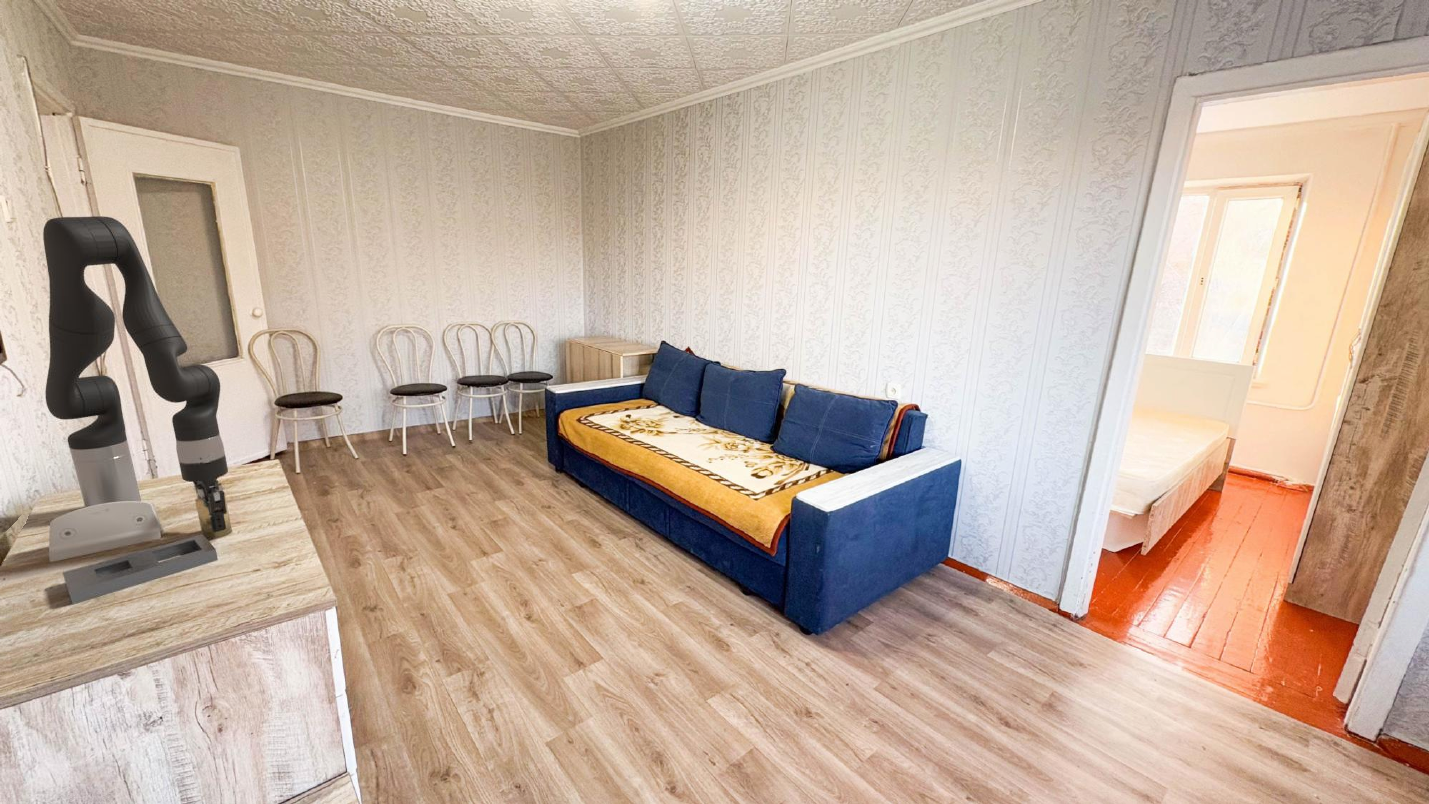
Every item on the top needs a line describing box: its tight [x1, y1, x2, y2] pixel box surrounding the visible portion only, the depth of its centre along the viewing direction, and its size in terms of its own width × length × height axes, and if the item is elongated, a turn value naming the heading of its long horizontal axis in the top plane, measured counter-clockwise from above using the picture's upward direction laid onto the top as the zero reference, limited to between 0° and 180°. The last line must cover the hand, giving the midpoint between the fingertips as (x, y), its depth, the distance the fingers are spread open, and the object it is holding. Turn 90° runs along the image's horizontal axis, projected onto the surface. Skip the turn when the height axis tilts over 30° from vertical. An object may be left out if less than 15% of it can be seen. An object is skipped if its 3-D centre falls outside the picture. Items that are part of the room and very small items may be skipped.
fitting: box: [194, 494, 233, 540], centre depth 123 cm, size 5×5×9 cm
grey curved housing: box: [48, 500, 165, 563], centre depth 118 cm, size 17×5×10 cm, turn 133°
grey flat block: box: [62, 533, 219, 605], centre depth 109 cm, size 10×20×2 cm, turn 144°
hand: (216, 526), depth 124 cm, fingers closed on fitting, 5 cm apart
